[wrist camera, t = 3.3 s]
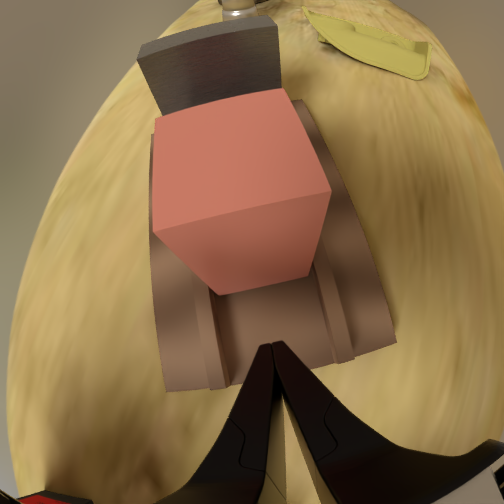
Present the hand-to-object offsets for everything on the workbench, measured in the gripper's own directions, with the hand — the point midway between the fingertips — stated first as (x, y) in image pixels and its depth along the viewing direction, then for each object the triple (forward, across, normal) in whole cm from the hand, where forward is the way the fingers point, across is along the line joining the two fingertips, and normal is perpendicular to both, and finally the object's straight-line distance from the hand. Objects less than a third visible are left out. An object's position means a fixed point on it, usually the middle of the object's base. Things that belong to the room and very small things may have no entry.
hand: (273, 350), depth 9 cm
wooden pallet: (+14, 0, 0) cm, 14 cm away
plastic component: (+33, -24, -19) cm, 45 cm away
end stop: (+20, 0, -8) cm, 22 cm away
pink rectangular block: (+11, 0, 0) cm, 11 cm away
